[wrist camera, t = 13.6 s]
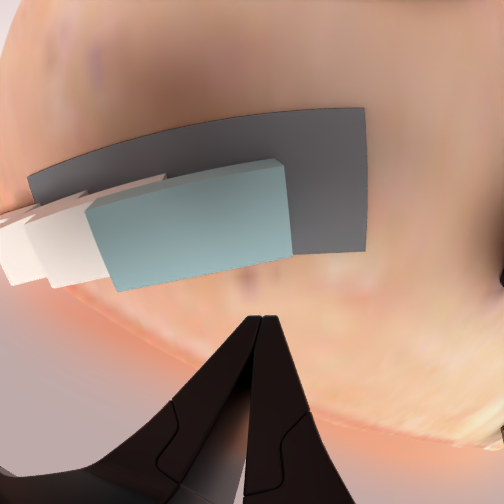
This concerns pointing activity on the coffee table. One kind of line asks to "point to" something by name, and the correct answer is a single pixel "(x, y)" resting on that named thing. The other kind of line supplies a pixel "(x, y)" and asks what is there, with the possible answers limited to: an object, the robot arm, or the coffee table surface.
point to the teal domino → (193, 224)
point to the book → (503, 431)
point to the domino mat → (242, 151)
